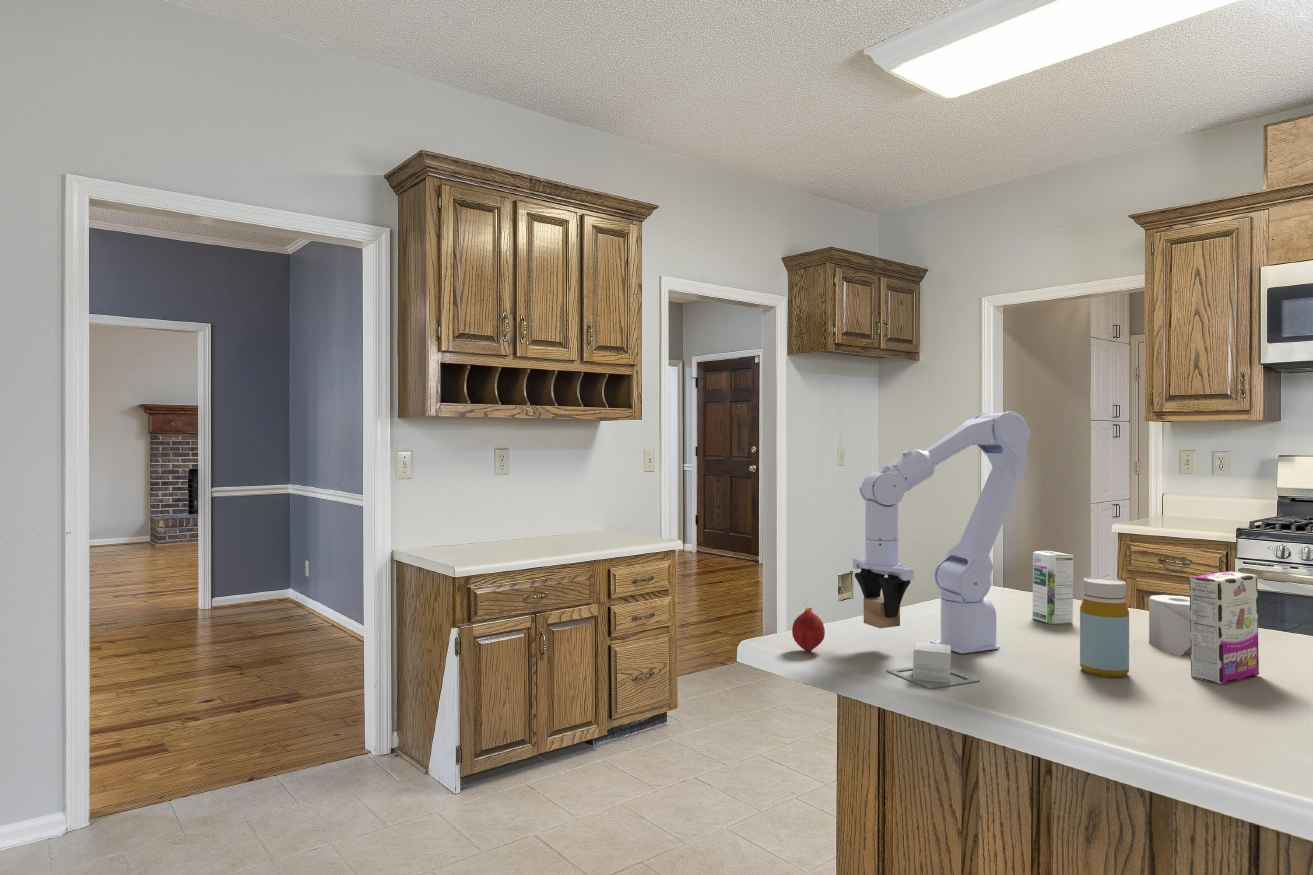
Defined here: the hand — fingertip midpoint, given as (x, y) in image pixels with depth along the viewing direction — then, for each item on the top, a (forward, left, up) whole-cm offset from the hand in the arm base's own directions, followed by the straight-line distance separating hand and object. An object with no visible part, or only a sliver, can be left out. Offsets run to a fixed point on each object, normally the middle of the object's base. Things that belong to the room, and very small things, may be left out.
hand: (882, 613), depth 142 cm
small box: (+3, +16, -7) cm, 18 cm away
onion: (+13, -4, -7) cm, 15 cm away
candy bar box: (-41, +34, -7) cm, 54 cm away
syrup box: (-49, -5, -7) cm, 50 cm away
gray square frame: (+3, +16, -7) cm, 18 cm away
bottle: (-25, +25, -7) cm, 36 cm away
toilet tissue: (-52, +19, -7) cm, 56 cm away
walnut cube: (0, 0, -2) cm, 2 cm away
